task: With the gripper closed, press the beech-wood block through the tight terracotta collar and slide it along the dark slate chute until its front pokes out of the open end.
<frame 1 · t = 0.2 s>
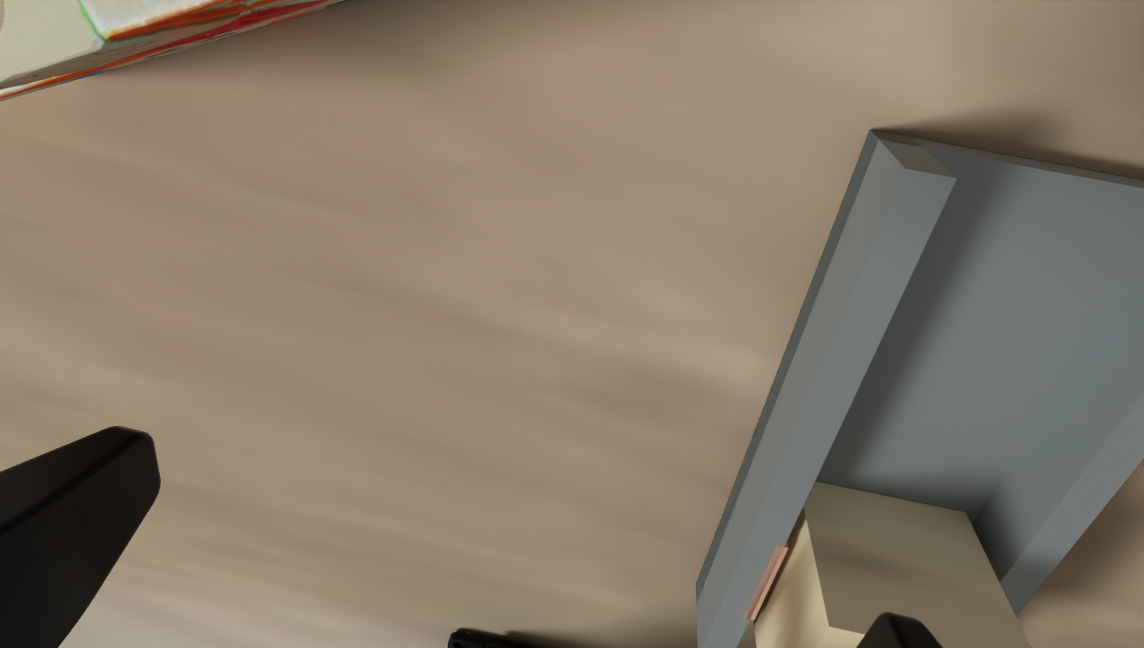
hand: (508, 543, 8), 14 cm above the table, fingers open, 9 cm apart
block: (869, 620, 23), point 4 cm above the table, slide at 0.0 cm
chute: (895, 433, 24), on the table
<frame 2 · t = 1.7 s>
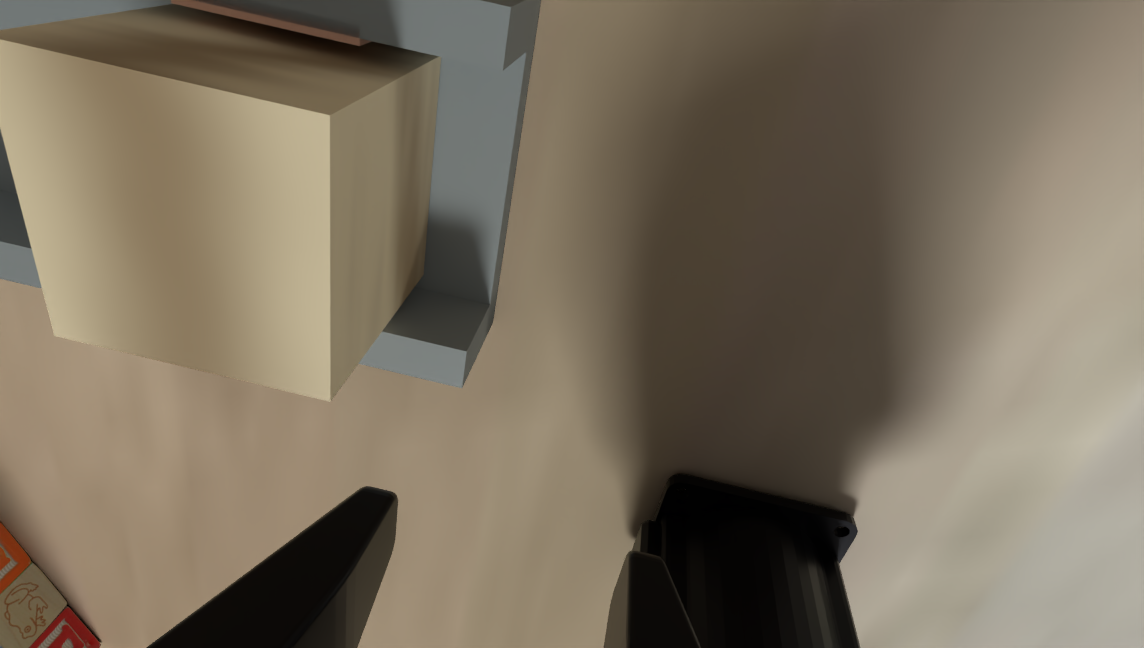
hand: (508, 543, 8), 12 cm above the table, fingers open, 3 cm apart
block: (259, 186, 15), point 4 cm above the table, slide at 0.0 cm
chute: (163, 98, 19), on the table
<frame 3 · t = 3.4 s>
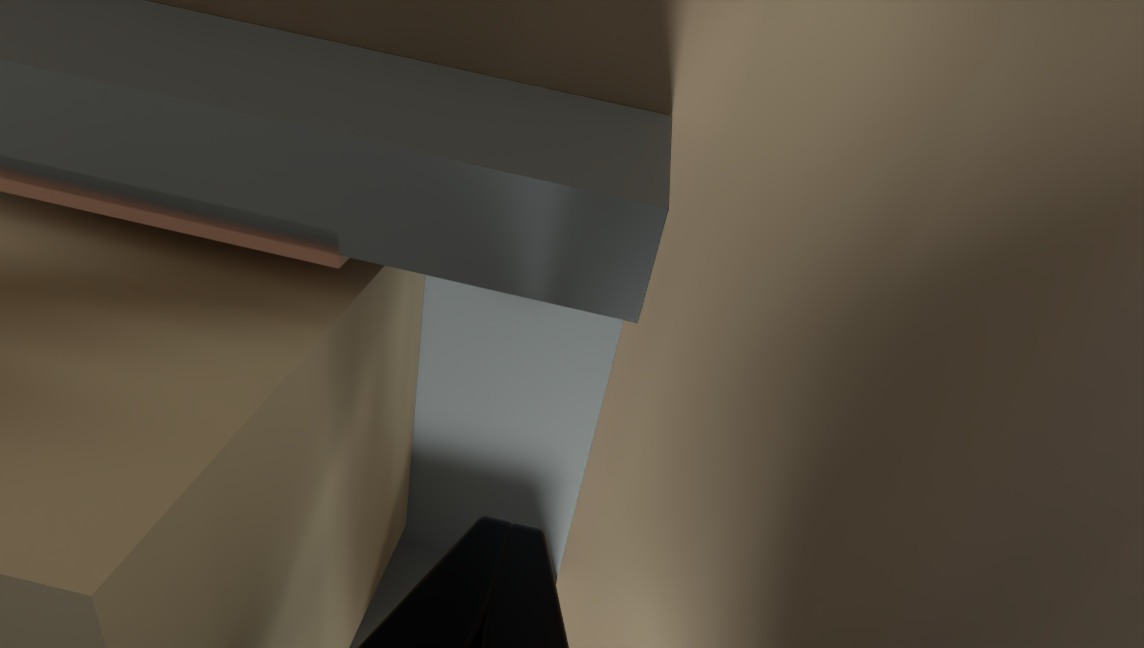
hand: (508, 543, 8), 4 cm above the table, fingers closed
block: (87, 483, 8), point 4 cm above the table, slide at 0.9 cm, touching gripper
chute: (34, 263, 12), on the table
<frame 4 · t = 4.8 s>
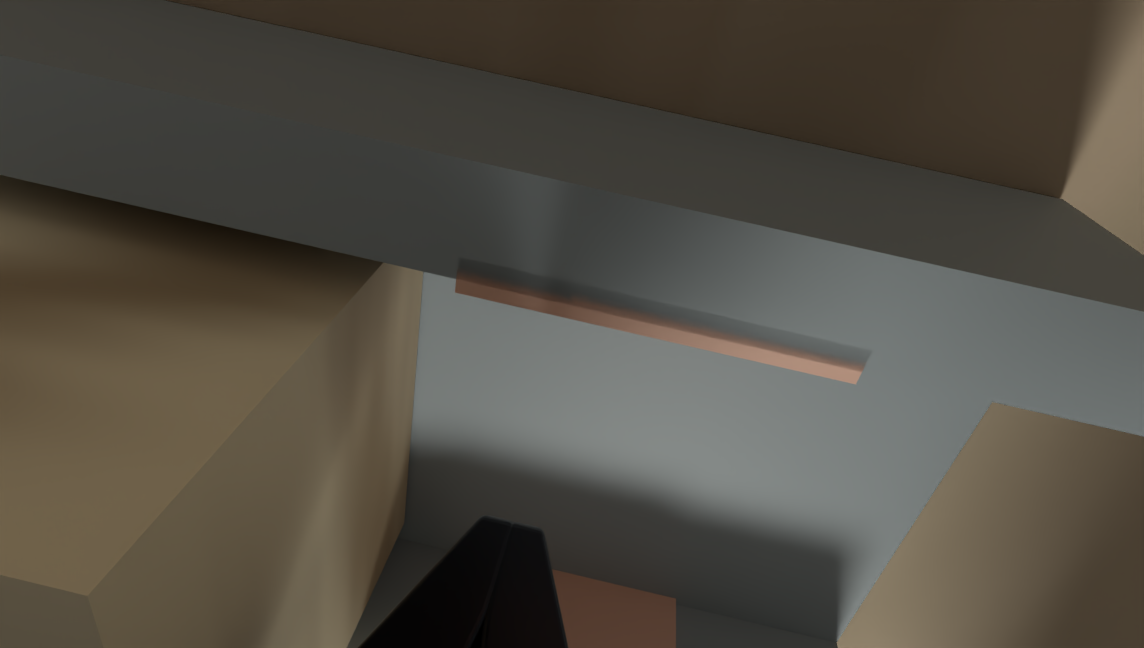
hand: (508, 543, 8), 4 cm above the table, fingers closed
block: (83, 481, 8), point 4 cm above the table, slide at 6.1 cm, touching gripper
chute: (323, 328, 11), on the table
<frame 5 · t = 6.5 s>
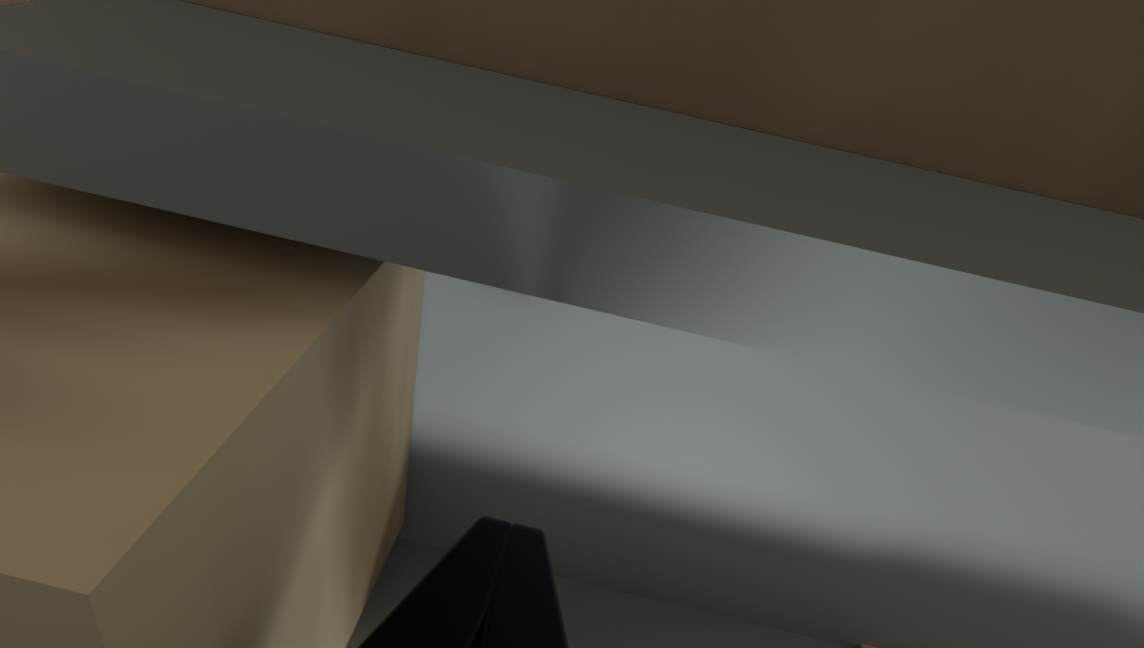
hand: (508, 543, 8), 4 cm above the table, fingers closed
block: (82, 479, 8), point 4 cm above the table, slide at 13.5 cm, touching gripper
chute: (752, 428, 11), on the table
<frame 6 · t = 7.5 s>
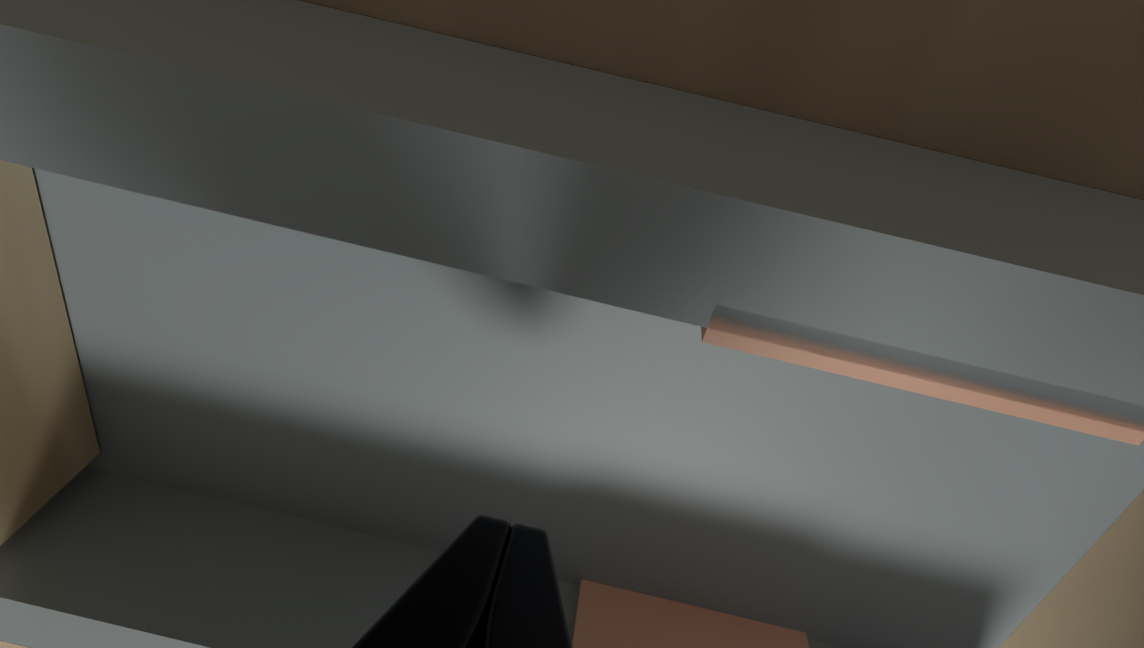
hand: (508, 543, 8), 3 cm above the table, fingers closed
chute: (448, 351, 11), on the table
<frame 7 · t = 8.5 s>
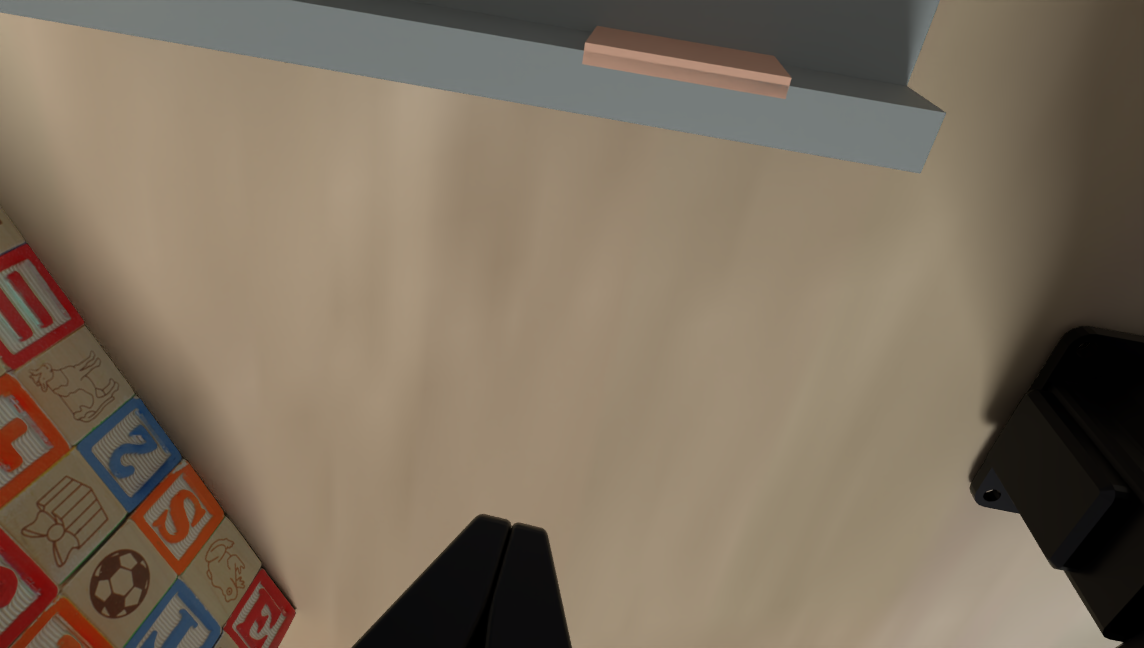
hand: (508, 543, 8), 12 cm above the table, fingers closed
stack of blocks: (105, 433, 26), on the table
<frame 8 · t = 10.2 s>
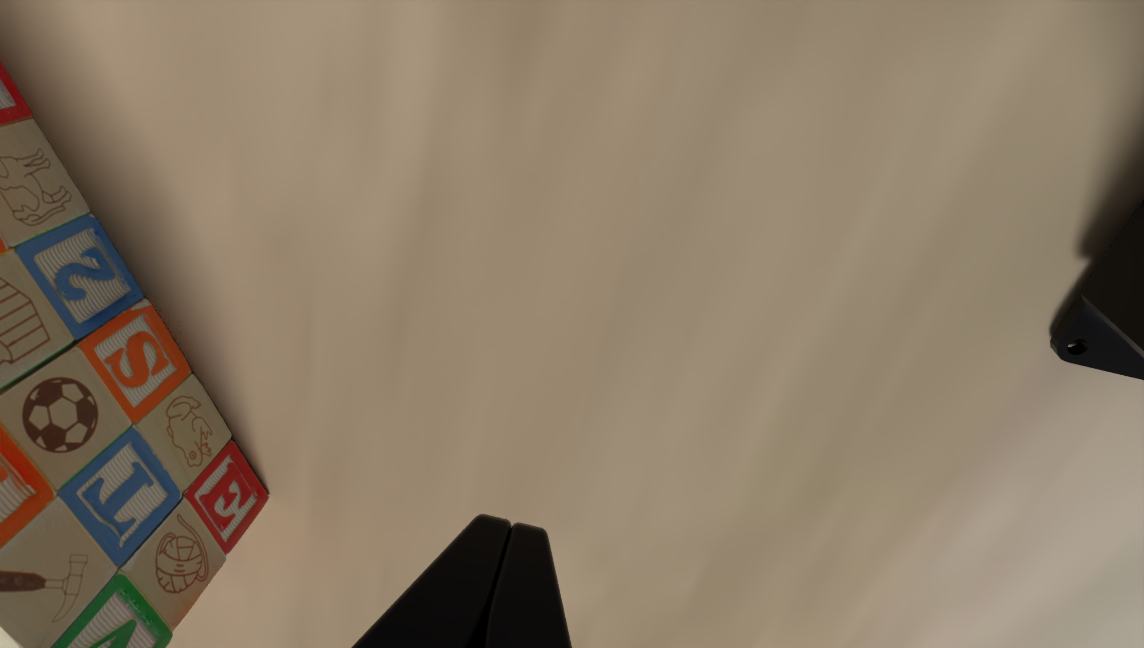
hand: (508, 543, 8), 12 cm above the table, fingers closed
stack of blocks: (57, 267, 23), on the table
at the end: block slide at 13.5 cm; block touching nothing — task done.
